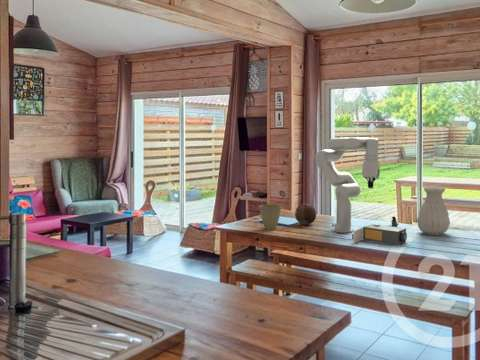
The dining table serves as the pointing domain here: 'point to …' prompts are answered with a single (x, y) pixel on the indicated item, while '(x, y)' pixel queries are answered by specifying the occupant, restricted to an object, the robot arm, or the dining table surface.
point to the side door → (357, 235)
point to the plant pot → (270, 215)
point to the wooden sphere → (305, 214)
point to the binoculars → (394, 222)
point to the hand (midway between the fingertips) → (370, 187)
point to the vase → (433, 213)
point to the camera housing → (384, 234)
